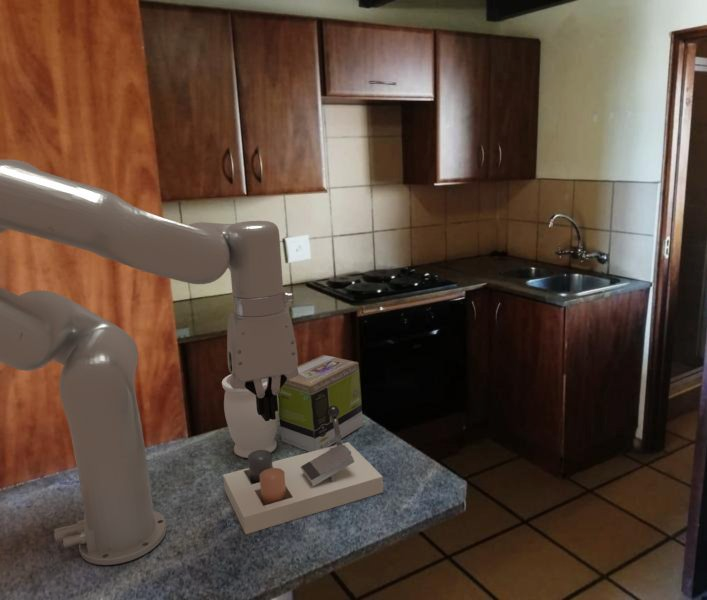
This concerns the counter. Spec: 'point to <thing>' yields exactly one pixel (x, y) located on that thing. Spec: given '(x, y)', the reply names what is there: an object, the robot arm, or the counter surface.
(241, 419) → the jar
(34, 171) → the robot arm
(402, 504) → the counter surface
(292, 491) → the panel
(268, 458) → the black button
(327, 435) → the tea box
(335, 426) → the toggle lever
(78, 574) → the counter surface
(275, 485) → the terracotta button
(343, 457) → the rocker
